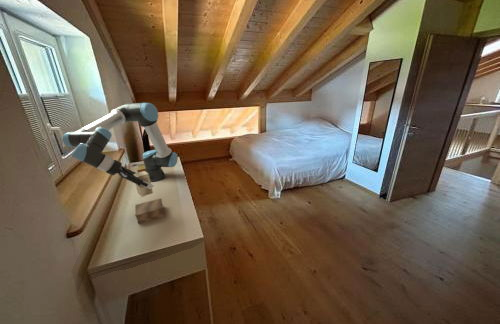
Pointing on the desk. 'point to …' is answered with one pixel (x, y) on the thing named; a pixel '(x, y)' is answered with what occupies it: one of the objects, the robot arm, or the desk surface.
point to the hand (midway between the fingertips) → (150, 185)
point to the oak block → (141, 189)
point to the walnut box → (149, 210)
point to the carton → (141, 168)
